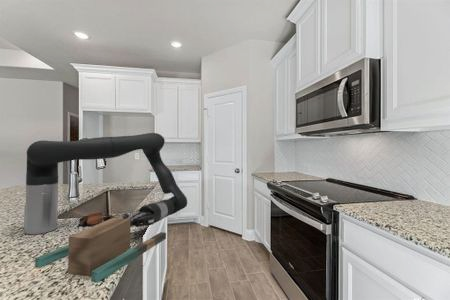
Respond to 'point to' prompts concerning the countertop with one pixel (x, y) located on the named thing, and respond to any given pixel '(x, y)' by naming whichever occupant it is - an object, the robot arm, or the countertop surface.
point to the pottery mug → (93, 220)
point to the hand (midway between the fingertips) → (119, 226)
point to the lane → (109, 266)
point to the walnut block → (98, 245)
